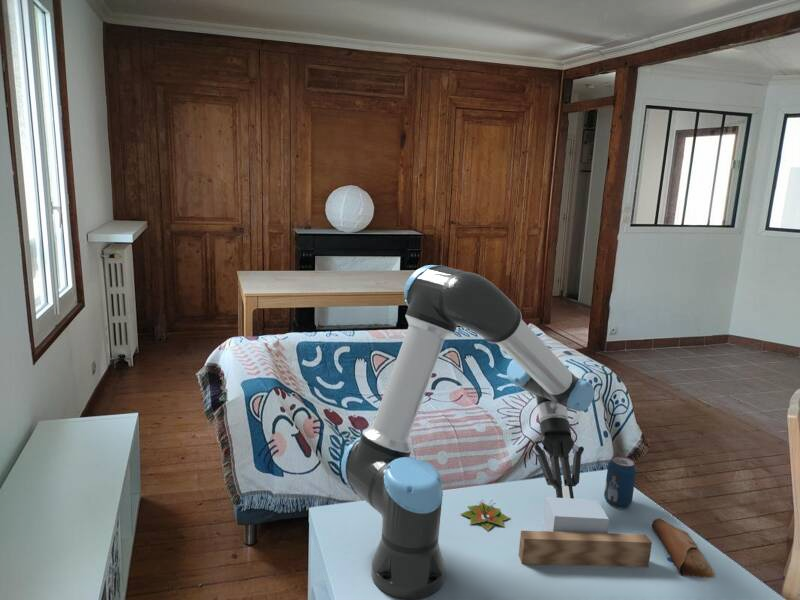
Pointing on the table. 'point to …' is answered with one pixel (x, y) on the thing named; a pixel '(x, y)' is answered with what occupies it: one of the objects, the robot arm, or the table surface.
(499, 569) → the table surface
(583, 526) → the white block
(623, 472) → the soda can
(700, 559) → the sunglasses case
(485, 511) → the lily flower
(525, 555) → the walnut board
